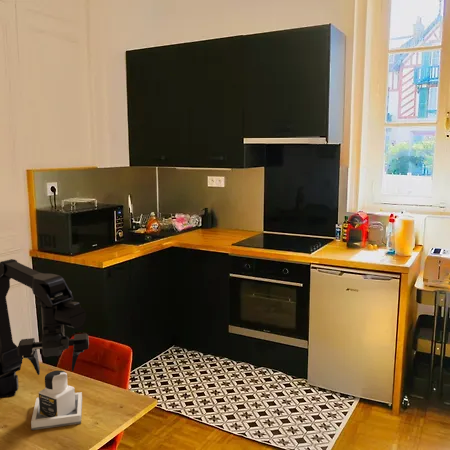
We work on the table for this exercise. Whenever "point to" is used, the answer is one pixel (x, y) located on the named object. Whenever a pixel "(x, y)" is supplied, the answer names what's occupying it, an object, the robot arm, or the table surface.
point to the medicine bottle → (56, 395)
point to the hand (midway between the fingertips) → (55, 372)
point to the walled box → (69, 419)
